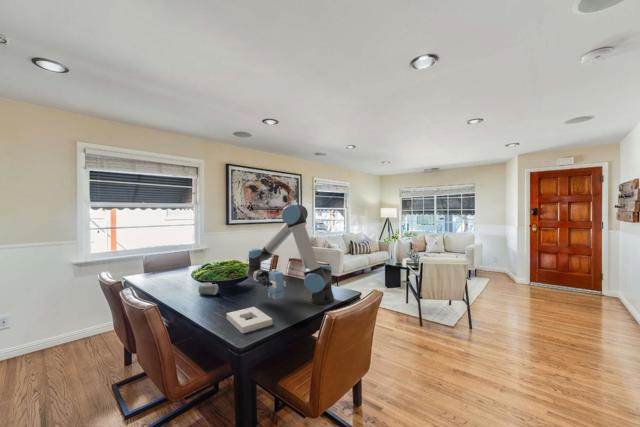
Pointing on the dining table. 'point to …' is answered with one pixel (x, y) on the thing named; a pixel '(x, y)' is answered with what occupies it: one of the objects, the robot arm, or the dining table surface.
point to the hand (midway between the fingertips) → (280, 284)
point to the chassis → (252, 324)
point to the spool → (208, 288)
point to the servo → (277, 278)
